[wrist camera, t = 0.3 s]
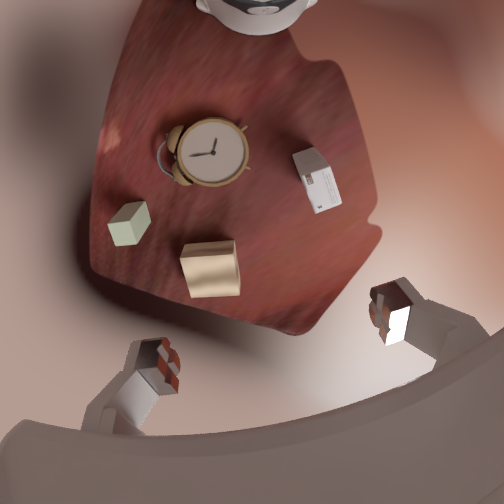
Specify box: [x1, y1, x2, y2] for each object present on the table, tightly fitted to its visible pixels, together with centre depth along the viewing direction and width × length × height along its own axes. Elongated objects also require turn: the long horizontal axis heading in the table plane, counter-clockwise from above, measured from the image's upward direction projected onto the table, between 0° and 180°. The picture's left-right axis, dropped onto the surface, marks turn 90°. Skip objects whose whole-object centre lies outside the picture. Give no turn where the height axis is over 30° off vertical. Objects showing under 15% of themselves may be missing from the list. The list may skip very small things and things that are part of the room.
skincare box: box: [292, 147, 342, 213], centre depth 39 cm, size 6×4×12 cm
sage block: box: [108, 201, 151, 246], centre depth 46 cm, size 4×4×8 cm
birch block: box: [180, 240, 240, 298], centre depth 54 cm, size 10×10×5 cm
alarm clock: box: [157, 117, 251, 187], centre depth 42 cm, size 11×5×15 cm
